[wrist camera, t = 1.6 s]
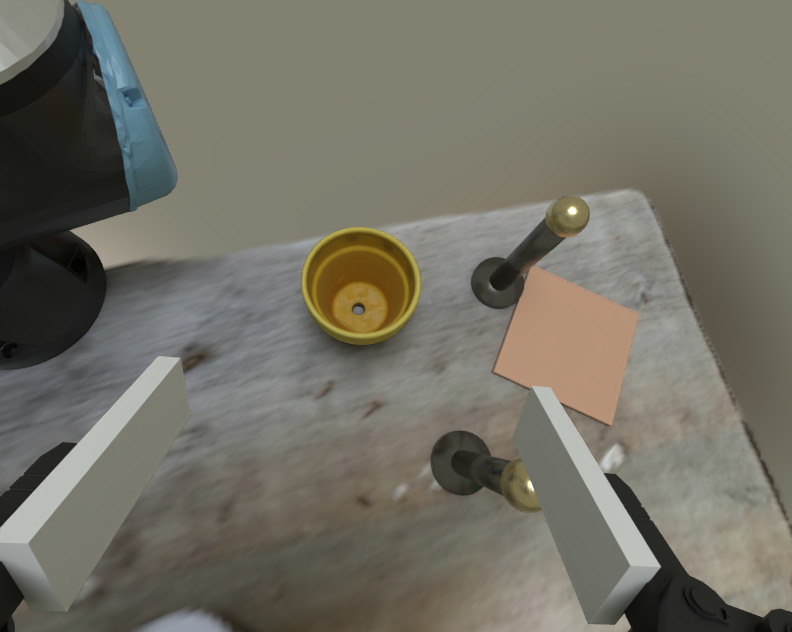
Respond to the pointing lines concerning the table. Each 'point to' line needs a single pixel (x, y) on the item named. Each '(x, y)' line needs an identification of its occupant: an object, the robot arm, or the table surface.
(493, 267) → the iron post
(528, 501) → the iron post
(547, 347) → the terracotta tile
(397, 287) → the plant pot
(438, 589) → the table surface
